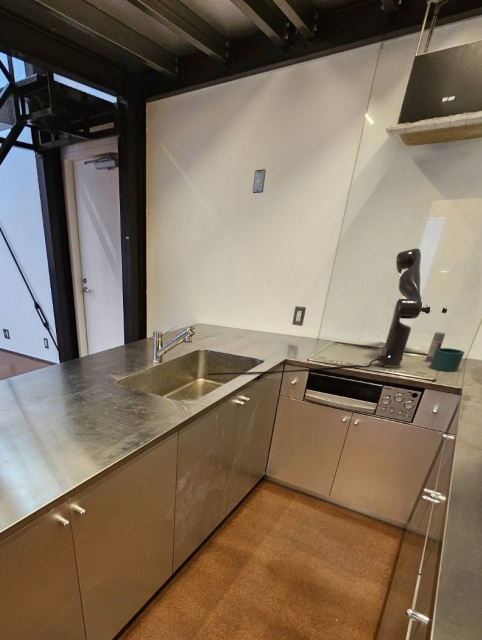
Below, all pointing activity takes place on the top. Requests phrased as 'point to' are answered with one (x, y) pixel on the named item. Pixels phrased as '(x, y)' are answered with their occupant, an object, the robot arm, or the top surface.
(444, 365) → the teal pen cup
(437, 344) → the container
